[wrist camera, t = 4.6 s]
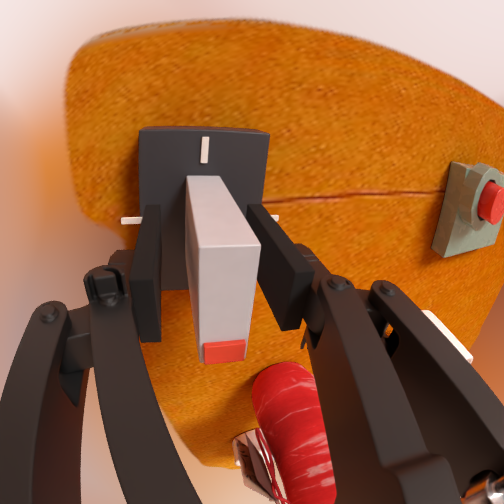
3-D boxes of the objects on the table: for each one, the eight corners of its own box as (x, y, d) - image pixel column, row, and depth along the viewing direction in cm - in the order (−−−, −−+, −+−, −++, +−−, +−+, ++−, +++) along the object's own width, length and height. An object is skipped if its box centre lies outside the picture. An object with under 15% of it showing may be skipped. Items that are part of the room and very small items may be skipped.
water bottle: (210, 400, 29) (268, 591, 8) (216, 360, 26) (296, 605, 5) (302, 389, 33) (378, 548, 12) (323, 349, 29) (427, 536, 9)
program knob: (186, 175, 14) (199, 250, 7) (219, 175, 15) (264, 248, 8) (185, 257, 17) (200, 368, 10) (214, 256, 17) (247, 363, 10)
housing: (428, 248, 26) (453, 267, 23) (450, 153, 21) (481, 165, 18) (483, 237, 29) (502, 250, 26) (501, 165, 24) (523, 176, 21)
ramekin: (291, 423, 39) (299, 444, 35) (265, 444, 42) (272, 464, 38) (242, 426, 35) (249, 450, 31) (220, 447, 38) (226, 468, 34)
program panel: (126, 127, 14) (117, 131, 12) (274, 131, 17) (290, 136, 14) (134, 271, 19) (130, 293, 17) (257, 266, 21) (267, 286, 19)
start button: (472, 217, 21) (486, 226, 19) (481, 179, 19) (497, 187, 17) (487, 216, 22) (501, 224, 20) (496, 182, 20) (510, 189, 18)
